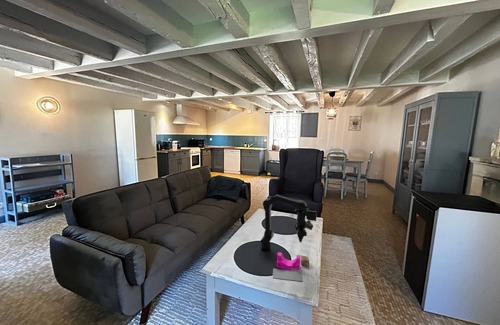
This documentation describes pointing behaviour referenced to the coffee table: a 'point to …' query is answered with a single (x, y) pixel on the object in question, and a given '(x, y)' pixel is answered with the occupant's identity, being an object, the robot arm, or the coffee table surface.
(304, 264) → the walnut block
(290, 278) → the pad
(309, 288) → the coffee table surface
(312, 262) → the coffee table surface
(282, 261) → the toy block
